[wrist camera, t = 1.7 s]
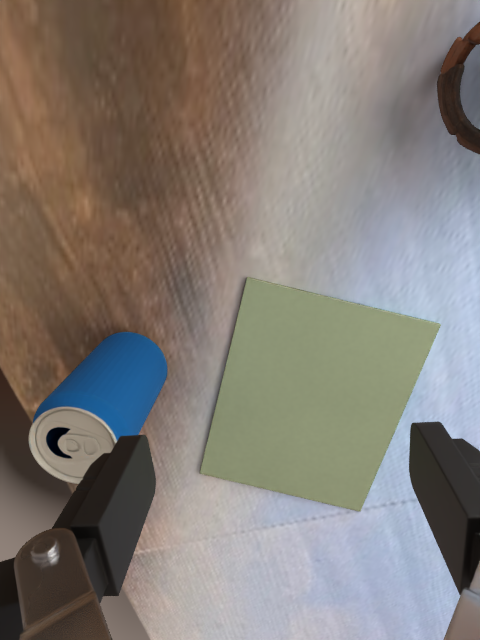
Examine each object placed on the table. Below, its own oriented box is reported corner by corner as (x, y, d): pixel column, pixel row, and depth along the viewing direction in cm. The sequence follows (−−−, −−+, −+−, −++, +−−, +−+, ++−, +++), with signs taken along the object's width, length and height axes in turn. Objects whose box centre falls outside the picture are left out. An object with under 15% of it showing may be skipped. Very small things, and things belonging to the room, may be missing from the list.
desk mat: (200, 471, 41) (199, 473, 40) (247, 276, 34) (246, 277, 33) (359, 509, 41) (360, 511, 41) (439, 323, 34) (440, 324, 34)
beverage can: (96, 324, 36) (16, 396, 25) (170, 332, 36) (123, 408, 25) (98, 390, 38) (26, 483, 27) (168, 398, 38) (125, 495, 27)
